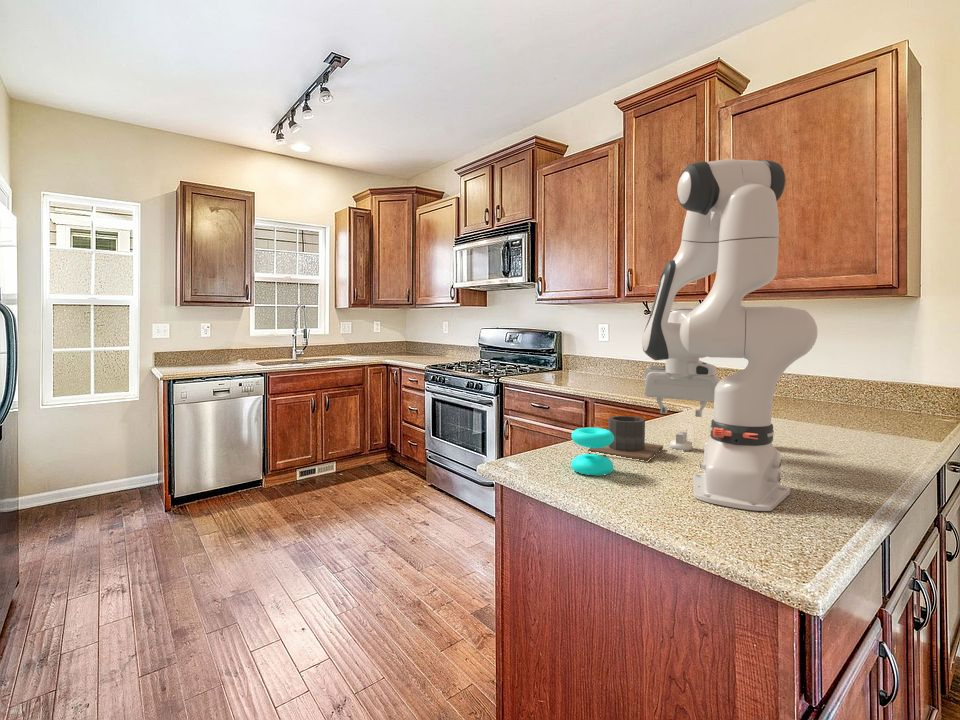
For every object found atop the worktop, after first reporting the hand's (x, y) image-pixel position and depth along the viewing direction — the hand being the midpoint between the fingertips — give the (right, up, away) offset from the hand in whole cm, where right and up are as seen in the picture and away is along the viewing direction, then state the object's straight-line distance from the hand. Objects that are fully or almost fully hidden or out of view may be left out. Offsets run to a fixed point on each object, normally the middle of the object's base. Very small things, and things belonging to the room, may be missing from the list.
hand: (680, 414), depth 142 cm
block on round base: (0, -10, 0) cm, 10 cm away
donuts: (-30, -12, -22) cm, 39 cm away
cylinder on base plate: (-17, -10, -3) cm, 20 cm away
